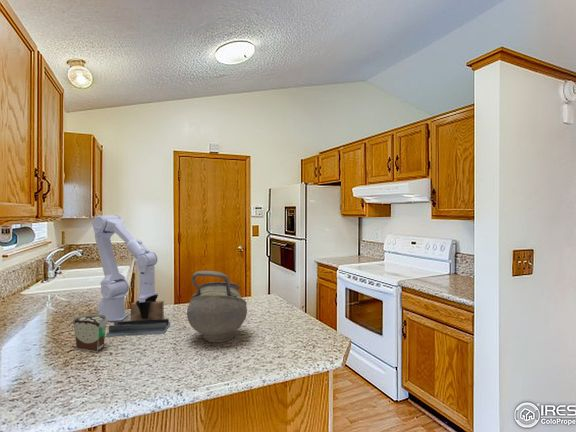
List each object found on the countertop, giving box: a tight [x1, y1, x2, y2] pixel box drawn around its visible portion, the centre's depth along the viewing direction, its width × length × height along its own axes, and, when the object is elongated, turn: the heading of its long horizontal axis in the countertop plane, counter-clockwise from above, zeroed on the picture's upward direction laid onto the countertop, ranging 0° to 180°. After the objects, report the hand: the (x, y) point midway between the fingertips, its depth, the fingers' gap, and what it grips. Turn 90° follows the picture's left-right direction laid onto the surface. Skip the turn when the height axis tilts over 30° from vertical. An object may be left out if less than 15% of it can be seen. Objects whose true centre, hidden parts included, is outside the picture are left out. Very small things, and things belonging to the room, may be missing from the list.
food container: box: [72, 313, 109, 353], centre depth 109 cm, size 12×6×10 cm, turn 71°
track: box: [105, 318, 171, 338], centre depth 124 cm, size 20×10×3 cm, turn 98°
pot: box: [186, 270, 248, 343], centre depth 115 cm, size 21×21×25 cm
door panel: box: [130, 300, 165, 321], centre depth 134 cm, size 12×3×8 cm, turn 98°
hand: (147, 315), depth 134 cm, fingers open, 7 cm apart
